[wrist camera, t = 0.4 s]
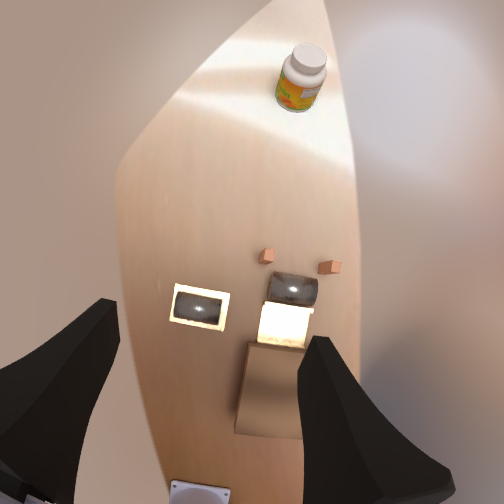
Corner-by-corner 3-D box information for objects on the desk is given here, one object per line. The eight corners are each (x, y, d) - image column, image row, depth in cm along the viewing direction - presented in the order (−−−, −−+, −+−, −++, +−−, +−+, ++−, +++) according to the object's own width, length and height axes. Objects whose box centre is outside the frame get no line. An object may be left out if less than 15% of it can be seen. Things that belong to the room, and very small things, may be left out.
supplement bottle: (268, 87, 40) (278, 42, 30) (302, 78, 41) (319, 35, 31) (285, 117, 40) (300, 75, 30) (319, 108, 40) (341, 67, 31)
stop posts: (325, 274, 38) (339, 273, 33) (259, 262, 38) (263, 259, 33) (327, 264, 38) (341, 261, 33) (260, 252, 38) (265, 248, 33)
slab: (302, 430, 33) (306, 439, 30) (233, 424, 32) (234, 433, 30) (320, 351, 34) (326, 355, 32) (248, 342, 33) (250, 346, 31)
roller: (222, 298, 37) (222, 299, 34) (218, 324, 36) (217, 327, 33) (180, 290, 36) (176, 291, 33) (176, 316, 36) (171, 318, 33)
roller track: (285, 426, 36) (290, 437, 33) (158, 407, 35) (153, 416, 32) (314, 279, 38) (322, 278, 35) (180, 255, 37) (176, 253, 34)
